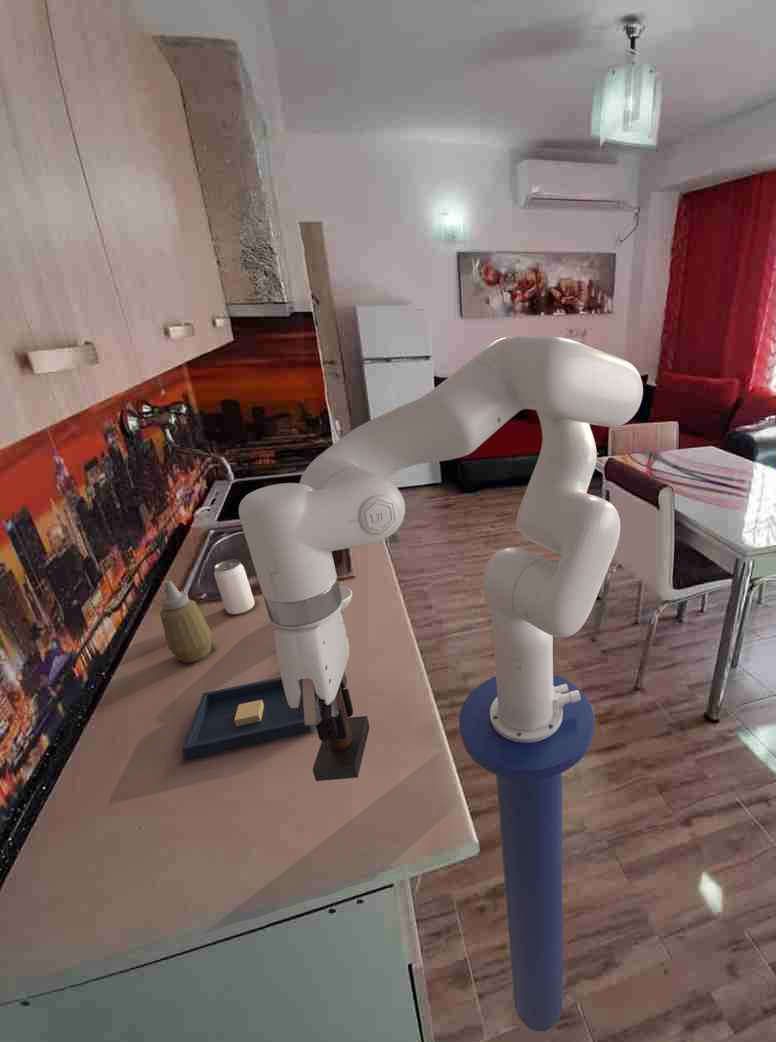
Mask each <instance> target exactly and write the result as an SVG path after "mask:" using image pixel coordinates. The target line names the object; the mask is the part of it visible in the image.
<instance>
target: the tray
mask: <svg viewBox="0 0 776 1042" xmlns="http://www.w3.org/2000/svg"><path fill="white" fill-rule="evenodd" d="M258 700H262V701H263V704H264V709H263V713H262V718H261V721H260V722H256V723H251V724H246V725H242V726H237V727H236V724H235V721H234V719H235V716H236V712H237V709H238V705H239V704H244V703H249V702H253V701H258ZM312 731H313V725H307V726H306V725H305V721H304V705H303V697H302V700H301V702H300V704H299V707H298V708H291V707H290V706H289V704H288V702H287V699H286V695H285V691H284V687H283V683H282V679H281V676H280V677H274V678H271V679H265V680H260V681H255V682H251V683H246V684H245V683H244V684H241V685H236V686H230V687H226V688H221V689H217V690H212V691H208V692H207V691H206V692H203V693H202V695H201V698H200V701H199V703H198V706H197V709H196V711H195V714H194V717H193V719H192V721H191V725H190V727H189V730H188V732H187V734H186V737H185V740H184V743H183V744H182V748H181V749H182V753H183V755H184V758H185V760H186V761H189V760H194V759H197V758H203V757H207V756H211V755H215V754H220V753H225V752H229V751H233V750H238V749H241V748H247V747H251V746H255V745H259V744H260V745H261V744H264V743H267V742H268V743H269V742H272V741H277V740H281V739H285V738H290V737H294V736H295V737H296V736H300V735H303V734H308V733H312Z"/></svg>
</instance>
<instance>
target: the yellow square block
mask: <svg viewBox="0 0 776 1042" xmlns="http://www.w3.org/2000/svg"><path fill="white" fill-rule="evenodd" d="M263 709H264V704H263V701H262V700H258V701H253V702H249V703H244V704H239V705H238V709H237V712H236V716H235V719H234V721H235V724H236V727H237V726H242V725H246V724H251V723H256V722H260V721H261V718H262V713H263Z"/></svg>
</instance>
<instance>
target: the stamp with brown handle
mask: <svg viewBox="0 0 776 1042" xmlns="http://www.w3.org/2000/svg"><path fill="white" fill-rule="evenodd" d="M336 702H337V707H338V710H342V714H343V718H344V722H345V726H346V730H347V737H346V738H345V739H337V740H325V741H322V740H321V743H320V745H319V749H318V751H317V755H316V757H315V761H314V764H313V767H312V773H313V777H314V780H315V782H323V781H333V780H334V781H336V780H346V779H358V778H359V775H360V770H361V766H362V762H363V757H364V753H365V748H366V744H367V741H368V735H369V732H370V723H369V718H368V715H362V716H350V717H348V716H347V712H346V708H345V704H344V700H343V696H342V691H341V688H340V686H339V689H338V692H337V694H336ZM319 707H329V705H326V703H325V704H324V701H323V702H319Z"/></svg>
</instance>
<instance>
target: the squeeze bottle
mask: <svg viewBox="0 0 776 1042" xmlns="http://www.w3.org/2000/svg"><path fill="white" fill-rule="evenodd" d="M164 590H165V591H164V592H165V596H164V597H162V598H161V599H160V604H161V606H162V609H161V611H160V612H159V616H160V619H161V624H162V627H163V631H164V635H165V638H166V643H167V646H168V647H167V648H168V650H169V651H170V652H171V653H172V654H173V655H174V656H175V657H176V658H177V659H178V660H179V661H181V662H182V663H194V662H197V661H200V660H202V659H205V658H206V657H207V656H208V655H209V654H210V653H211V651H212V637H213V635H212V631H211V630H210V627H209V625H208V623H207V622H206V620H205V617H204V616H203V614H202V612H201V609H200V608H199V606H198V605H197V602H196V601H195V600H192V599H190V598H189V595H188V593H187V592H185V591H179V589H178V588H177V587H176V585H175V583H174V582H173V581H172V580H171V579H170V580H165V581H164Z"/></svg>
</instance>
